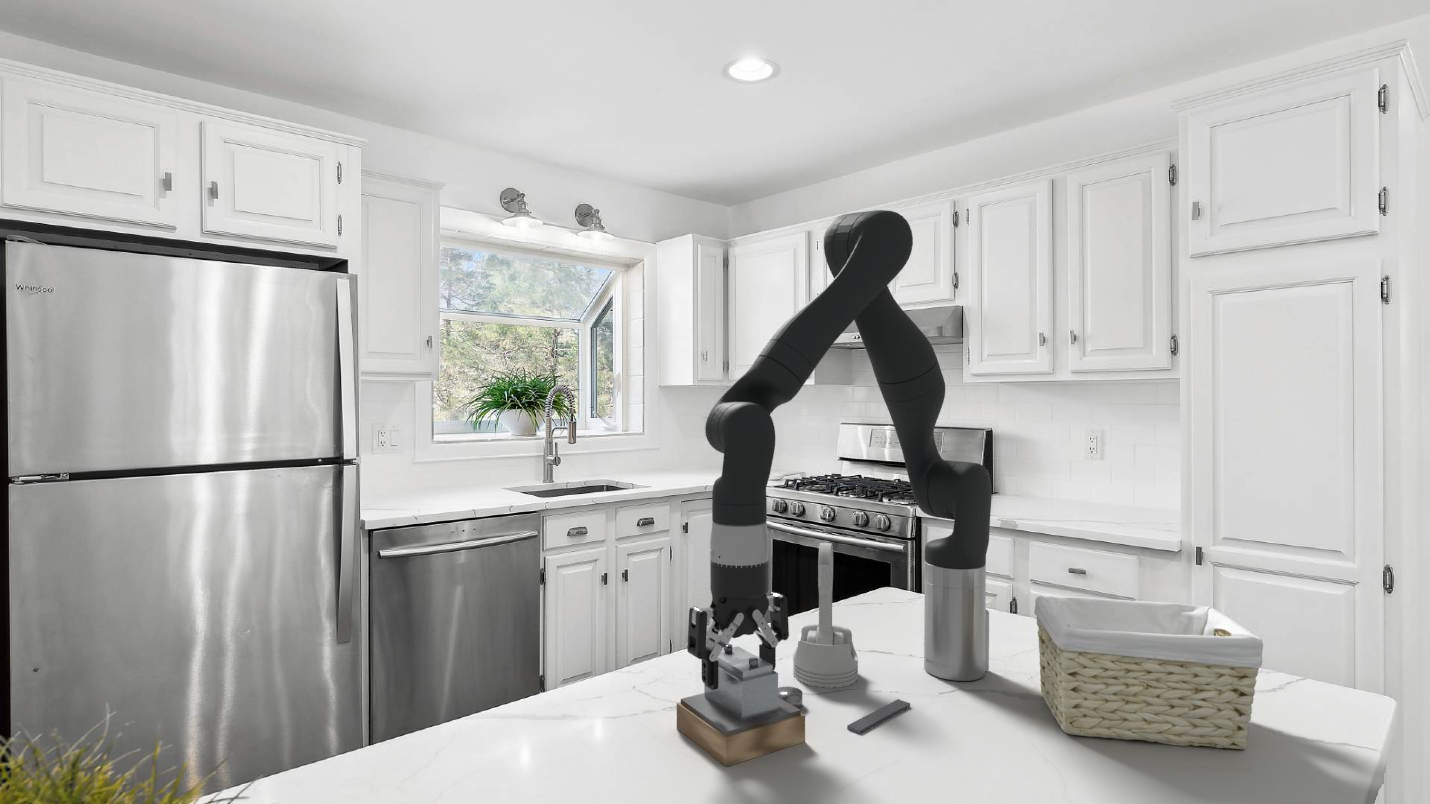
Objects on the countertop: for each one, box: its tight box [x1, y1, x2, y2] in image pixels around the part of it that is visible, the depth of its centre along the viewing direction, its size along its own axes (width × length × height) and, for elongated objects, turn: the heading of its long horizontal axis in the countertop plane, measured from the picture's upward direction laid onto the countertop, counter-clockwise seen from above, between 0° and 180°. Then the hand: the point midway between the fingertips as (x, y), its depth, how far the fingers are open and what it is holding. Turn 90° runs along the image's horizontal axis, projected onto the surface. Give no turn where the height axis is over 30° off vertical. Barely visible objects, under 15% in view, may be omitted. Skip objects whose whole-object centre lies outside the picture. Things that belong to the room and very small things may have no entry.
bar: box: [846, 698, 911, 735], centre depth 104 cm, size 12×2×1 cm, turn 134°
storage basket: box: [1034, 595, 1264, 750], centre depth 103 cm, size 24×16×15 cm
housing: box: [703, 643, 779, 722], centre depth 99 cm, size 9×6×7 cm, turn 31°
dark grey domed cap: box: [778, 686, 803, 710], centre depth 108 cm, size 4×4×2 cm
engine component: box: [792, 542, 859, 689], centre depth 120 cm, size 11×20×10 cm
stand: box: [676, 692, 806, 768], centre depth 99 cm, size 12×12×4 cm
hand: (739, 680), depth 99 cm, fingers open, 8 cm apart
